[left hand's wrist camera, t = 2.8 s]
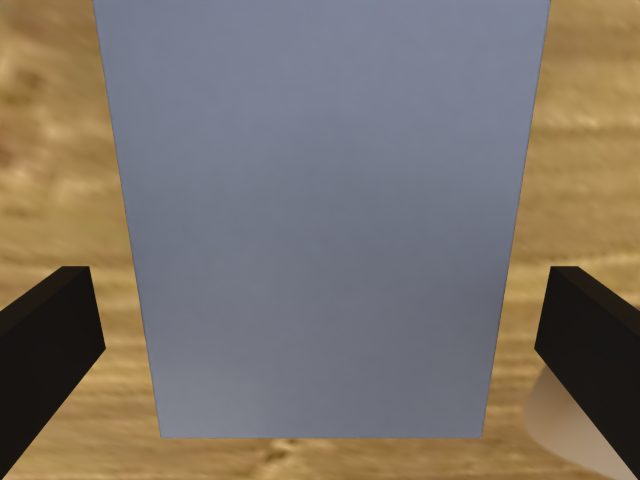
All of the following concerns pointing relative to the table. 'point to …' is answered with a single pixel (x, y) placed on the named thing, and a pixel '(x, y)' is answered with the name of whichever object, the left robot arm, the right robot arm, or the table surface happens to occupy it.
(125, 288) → the table surface
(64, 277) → the left robot arm
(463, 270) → the grey rectangular box
